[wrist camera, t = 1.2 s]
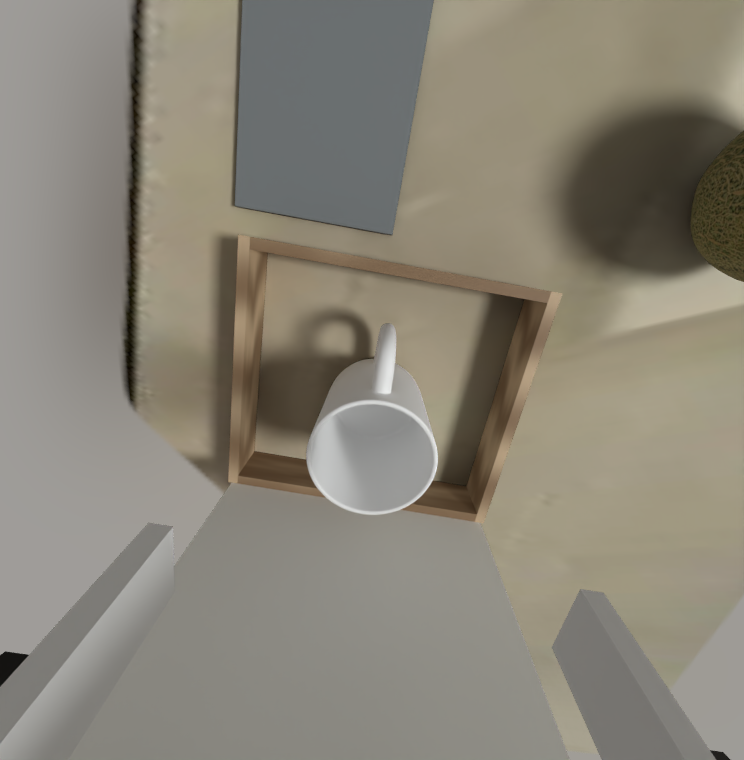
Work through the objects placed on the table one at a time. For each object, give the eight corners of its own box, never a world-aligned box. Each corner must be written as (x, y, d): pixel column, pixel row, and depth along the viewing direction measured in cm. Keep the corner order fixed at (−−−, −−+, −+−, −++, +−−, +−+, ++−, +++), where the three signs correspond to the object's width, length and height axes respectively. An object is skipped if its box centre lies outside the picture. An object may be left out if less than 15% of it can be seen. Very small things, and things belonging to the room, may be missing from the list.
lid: (248, 457, 33) (-38, 872, 11) (469, 493, 34) (645, 959, 11) (247, 484, 34) (-18, 915, 12) (461, 518, 35) (608, 992, 12)
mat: (249, -78, 21) (245, -87, 20) (440, -38, 21) (441, -46, 21) (238, 207, 26) (234, 205, 26) (392, 235, 27) (392, 234, 26)
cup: (325, 434, 32) (301, 506, 23) (338, 306, 28) (316, 328, 19) (412, 446, 32) (424, 523, 23) (436, 320, 29) (464, 349, 19)
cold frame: (258, 238, 27) (238, 234, 23) (537, 289, 28) (562, 293, 24) (245, 457, 33) (228, 482, 30) (472, 494, 34) (483, 523, 30)
